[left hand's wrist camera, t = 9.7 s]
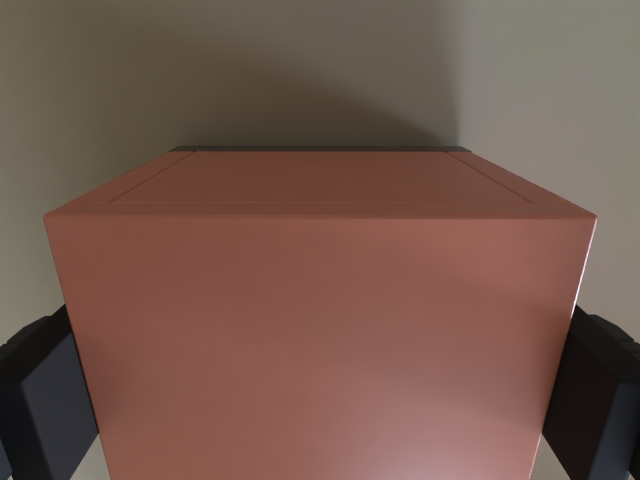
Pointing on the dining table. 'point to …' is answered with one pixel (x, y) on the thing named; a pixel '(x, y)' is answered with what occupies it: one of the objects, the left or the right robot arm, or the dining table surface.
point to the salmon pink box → (320, 312)
